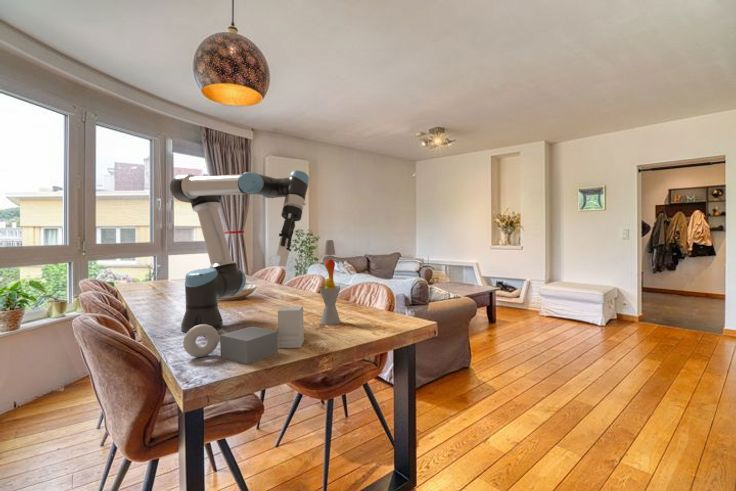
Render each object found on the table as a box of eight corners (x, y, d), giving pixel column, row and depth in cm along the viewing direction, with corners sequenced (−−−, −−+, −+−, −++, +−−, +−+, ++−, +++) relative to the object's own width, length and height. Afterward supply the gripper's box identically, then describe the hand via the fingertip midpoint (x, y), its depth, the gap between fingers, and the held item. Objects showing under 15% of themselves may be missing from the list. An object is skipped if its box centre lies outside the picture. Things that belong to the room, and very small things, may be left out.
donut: (184, 361, 104) (183, 328, 103) (182, 358, 106) (182, 325, 106) (220, 355, 109) (219, 323, 109) (218, 352, 112) (217, 320, 112)
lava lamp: (321, 319, 154) (321, 239, 153) (342, 319, 154) (341, 239, 153) (317, 325, 145) (316, 240, 144) (339, 325, 145) (338, 240, 144)
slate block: (220, 357, 108) (220, 335, 107) (252, 347, 118) (251, 326, 118) (247, 365, 101) (246, 341, 101) (278, 353, 112) (277, 331, 111)
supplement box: (304, 341, 123) (304, 305, 123) (300, 348, 116) (300, 310, 115) (283, 341, 123) (282, 305, 123) (277, 348, 116) (277, 310, 115)
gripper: (303, 196, 125) (291, 252, 118) (302, 222, 148) (292, 270, 141) (281, 192, 124) (268, 248, 117) (284, 219, 147) (273, 267, 140)
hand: (281, 261), depth 129 cm, fingers open, 13 cm apart
